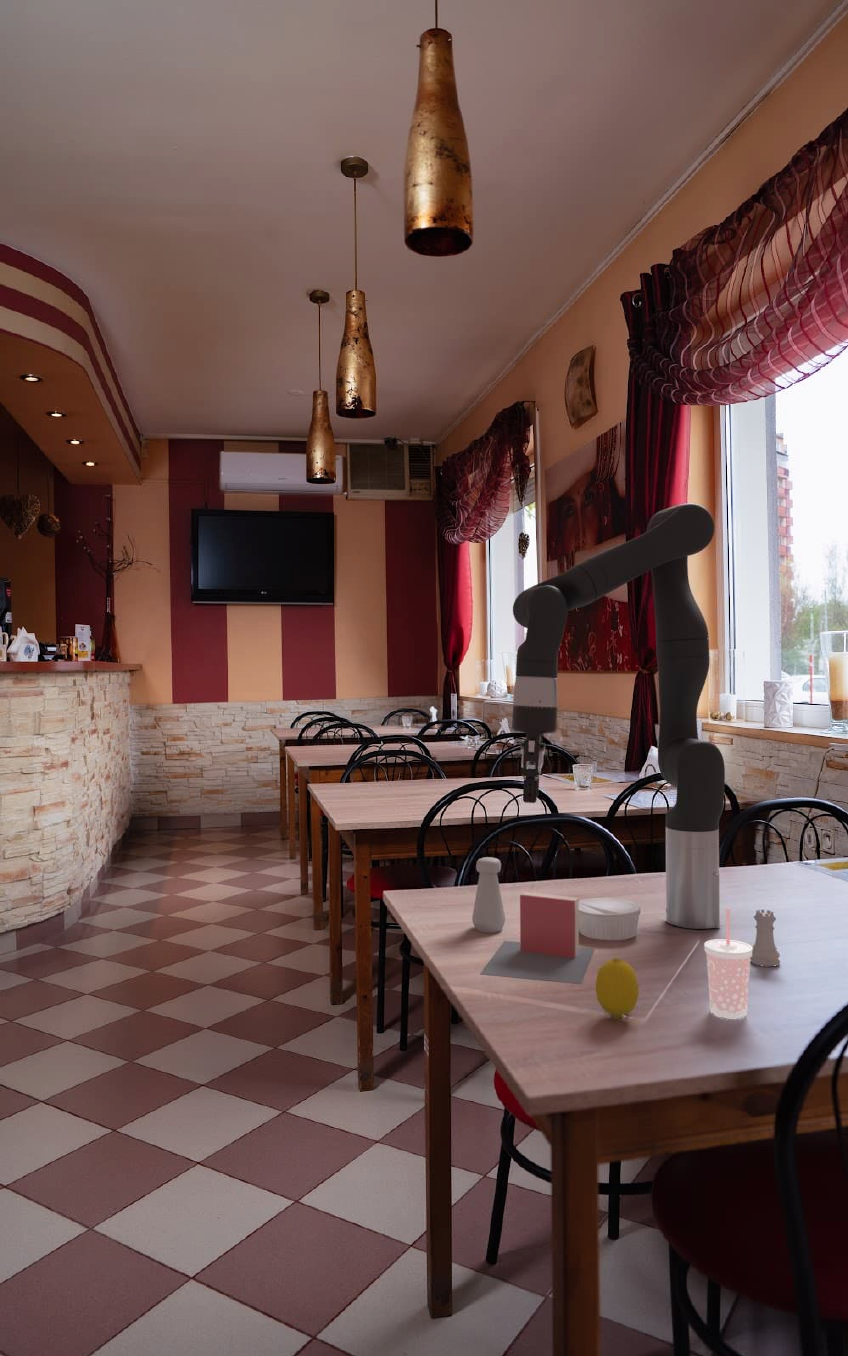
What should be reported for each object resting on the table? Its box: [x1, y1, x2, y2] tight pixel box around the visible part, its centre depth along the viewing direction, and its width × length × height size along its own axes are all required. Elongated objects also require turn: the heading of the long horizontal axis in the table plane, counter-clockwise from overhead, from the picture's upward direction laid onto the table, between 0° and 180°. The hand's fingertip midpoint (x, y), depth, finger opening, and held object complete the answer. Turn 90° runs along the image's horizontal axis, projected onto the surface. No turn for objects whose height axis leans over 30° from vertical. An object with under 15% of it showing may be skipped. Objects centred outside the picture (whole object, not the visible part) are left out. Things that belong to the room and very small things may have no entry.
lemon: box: [595, 957, 640, 1020], centre depth 117 cm, size 6×6×8 cm
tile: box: [519, 891, 580, 959], centre depth 142 cm, size 2×9×9 cm, turn 63°
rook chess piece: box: [750, 909, 781, 967], centre depth 139 cm, size 4×4×8 cm
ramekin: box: [579, 897, 641, 941], centre depth 154 cm, size 11×11×5 cm
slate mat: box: [479, 940, 595, 985], centre depth 139 cm, size 15×17×1 cm
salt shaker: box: [471, 856, 506, 934], centre depth 156 cm, size 6×6×13 cm
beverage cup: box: [703, 907, 754, 1019], centre depth 118 cm, size 6×6×14 cm
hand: (530, 799), depth 151 cm, fingers open, 8 cm apart
